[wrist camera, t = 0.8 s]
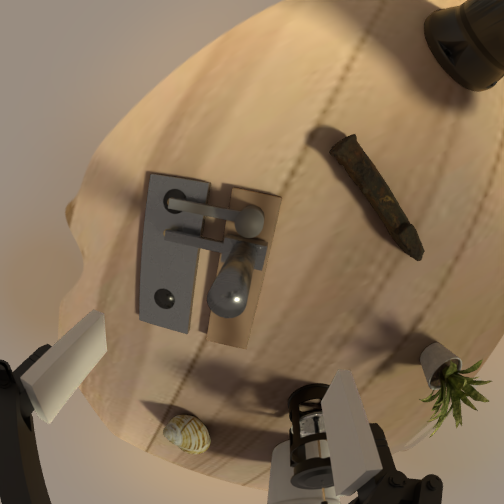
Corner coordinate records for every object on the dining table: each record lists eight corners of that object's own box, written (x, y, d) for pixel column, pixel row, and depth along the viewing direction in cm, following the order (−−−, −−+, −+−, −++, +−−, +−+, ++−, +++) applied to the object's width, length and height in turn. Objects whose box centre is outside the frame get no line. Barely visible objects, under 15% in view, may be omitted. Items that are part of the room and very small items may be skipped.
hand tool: (324, 151, 32) (331, 148, 27) (348, 134, 31) (358, 129, 26) (396, 266, 35) (409, 278, 31) (416, 250, 34) (432, 260, 30)
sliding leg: (268, 241, 33) (263, 290, 20) (262, 264, 34) (255, 324, 21) (166, 220, 34) (105, 251, 20) (164, 242, 34) (105, 284, 21)
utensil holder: (263, 463, 50) (259, 522, 34) (275, 432, 46) (273, 504, 29) (322, 465, 50) (326, 521, 33) (343, 435, 46) (354, 501, 29)
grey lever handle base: (281, 197, 33) (283, 202, 28) (247, 343, 40) (243, 368, 34) (177, 177, 34) (159, 178, 28) (161, 322, 40) (147, 343, 34)
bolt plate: (211, 182, 34) (208, 183, 32) (189, 329, 40) (187, 334, 39) (154, 173, 34) (150, 173, 32) (142, 316, 40) (139, 320, 39)
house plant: (381, 353, 39) (416, 425, 23) (446, 302, 36) (501, 357, 20) (408, 392, 41) (436, 453, 26) (463, 349, 38) (503, 401, 22)
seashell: (202, 447, 49) (174, 468, 40) (176, 414, 52) (146, 432, 43) (230, 435, 46) (202, 461, 37) (201, 400, 49) (169, 420, 40)
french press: (311, 373, 41) (327, 498, 19) (352, 391, 42) (379, 500, 20) (272, 411, 44) (266, 520, 22) (311, 425, 45) (318, 525, 23)
